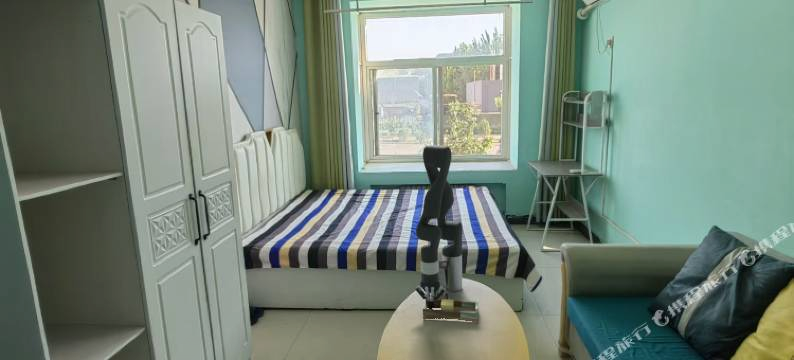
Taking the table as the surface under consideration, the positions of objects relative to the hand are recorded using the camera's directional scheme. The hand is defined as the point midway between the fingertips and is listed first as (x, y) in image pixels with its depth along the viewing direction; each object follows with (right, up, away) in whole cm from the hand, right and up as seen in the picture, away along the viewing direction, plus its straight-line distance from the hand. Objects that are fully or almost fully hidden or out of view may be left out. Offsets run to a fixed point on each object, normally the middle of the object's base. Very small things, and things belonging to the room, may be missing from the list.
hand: (430, 307), depth 194 cm
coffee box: (+6, 0, +15) cm, 17 cm away
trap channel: (+9, -3, -1) cm, 9 cm away
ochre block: (+7, -1, -1) cm, 7 cm away
